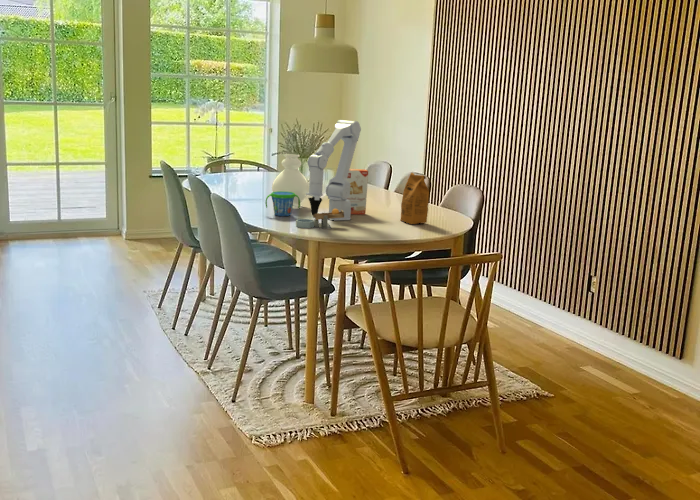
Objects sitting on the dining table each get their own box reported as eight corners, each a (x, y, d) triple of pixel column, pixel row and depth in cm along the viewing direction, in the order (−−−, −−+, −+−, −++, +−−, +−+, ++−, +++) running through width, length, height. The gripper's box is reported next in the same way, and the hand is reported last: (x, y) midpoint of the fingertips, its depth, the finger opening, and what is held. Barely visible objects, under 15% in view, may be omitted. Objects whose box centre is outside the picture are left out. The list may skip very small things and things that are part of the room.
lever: (340, 213, 326) (339, 207, 326) (344, 218, 315) (343, 211, 314) (311, 215, 325) (311, 209, 324) (314, 220, 313) (314, 214, 312)
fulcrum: (328, 224, 322) (329, 212, 321) (331, 228, 313) (331, 216, 312) (313, 224, 321) (313, 212, 320) (315, 228, 312) (316, 216, 311)
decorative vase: (303, 211, 351) (304, 157, 346) (266, 208, 355) (268, 155, 349) (312, 205, 368) (314, 154, 363) (277, 202, 372) (279, 152, 366)
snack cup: (265, 216, 332) (265, 194, 330) (265, 212, 343) (265, 190, 340) (300, 217, 334) (301, 195, 332) (299, 213, 344) (300, 191, 342)
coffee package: (416, 219, 344) (419, 171, 340) (429, 224, 333) (433, 175, 328) (397, 220, 340) (400, 171, 336) (409, 225, 329) (413, 175, 324)
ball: (338, 209, 318) (331, 208, 318) (340, 208, 315) (333, 207, 315) (337, 216, 318) (330, 215, 318) (338, 215, 315) (332, 214, 315)
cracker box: (337, 214, 346) (339, 169, 342) (334, 212, 352) (336, 168, 347) (366, 214, 350) (368, 170, 345) (362, 212, 356) (364, 168, 351)
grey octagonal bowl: (312, 224, 320) (312, 219, 320) (314, 228, 313) (314, 222, 312) (295, 224, 319) (295, 218, 318) (296, 227, 312) (297, 222, 311)
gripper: (305, 180, 325) (303, 211, 328) (308, 184, 311) (306, 217, 314) (321, 181, 326) (319, 211, 329) (325, 185, 312) (323, 217, 315)
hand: (314, 214), depth 322 cm, fingers closed, pressing on lever
